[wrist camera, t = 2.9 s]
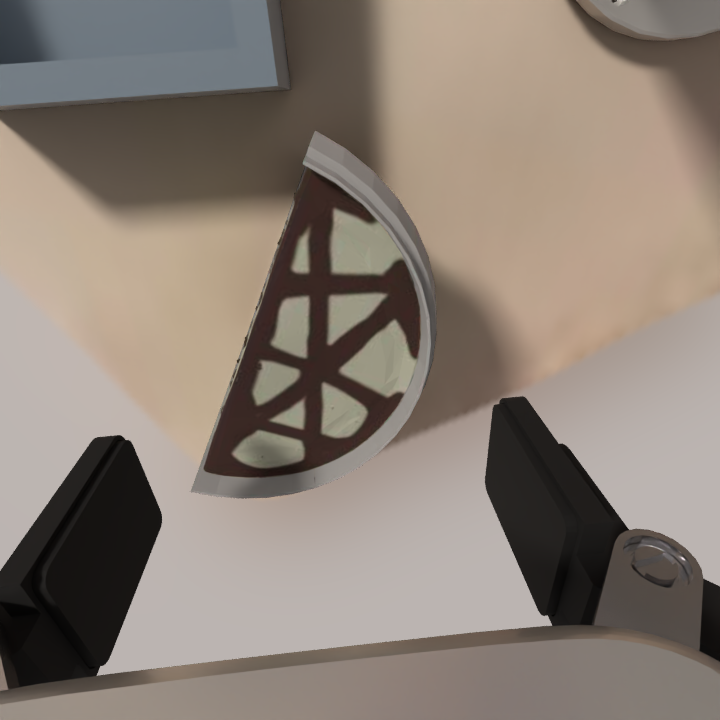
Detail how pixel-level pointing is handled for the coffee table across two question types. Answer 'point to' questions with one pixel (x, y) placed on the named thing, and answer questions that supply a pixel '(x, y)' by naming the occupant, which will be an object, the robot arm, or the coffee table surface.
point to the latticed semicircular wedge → (327, 339)
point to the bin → (137, 50)
